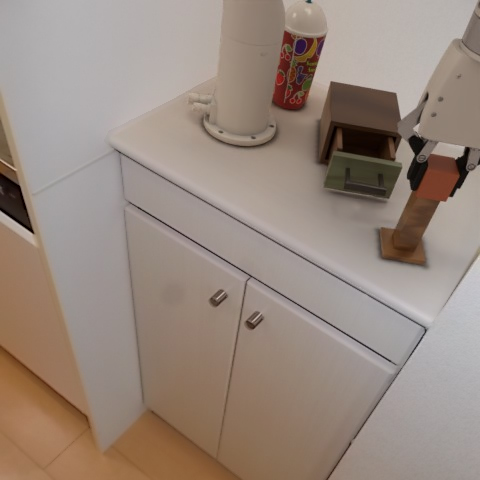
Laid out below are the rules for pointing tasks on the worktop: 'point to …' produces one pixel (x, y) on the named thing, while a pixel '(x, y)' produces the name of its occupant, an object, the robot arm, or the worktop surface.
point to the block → (438, 178)
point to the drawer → (362, 163)
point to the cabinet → (358, 113)
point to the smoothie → (299, 53)
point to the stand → (409, 231)
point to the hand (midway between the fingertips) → (430, 186)
